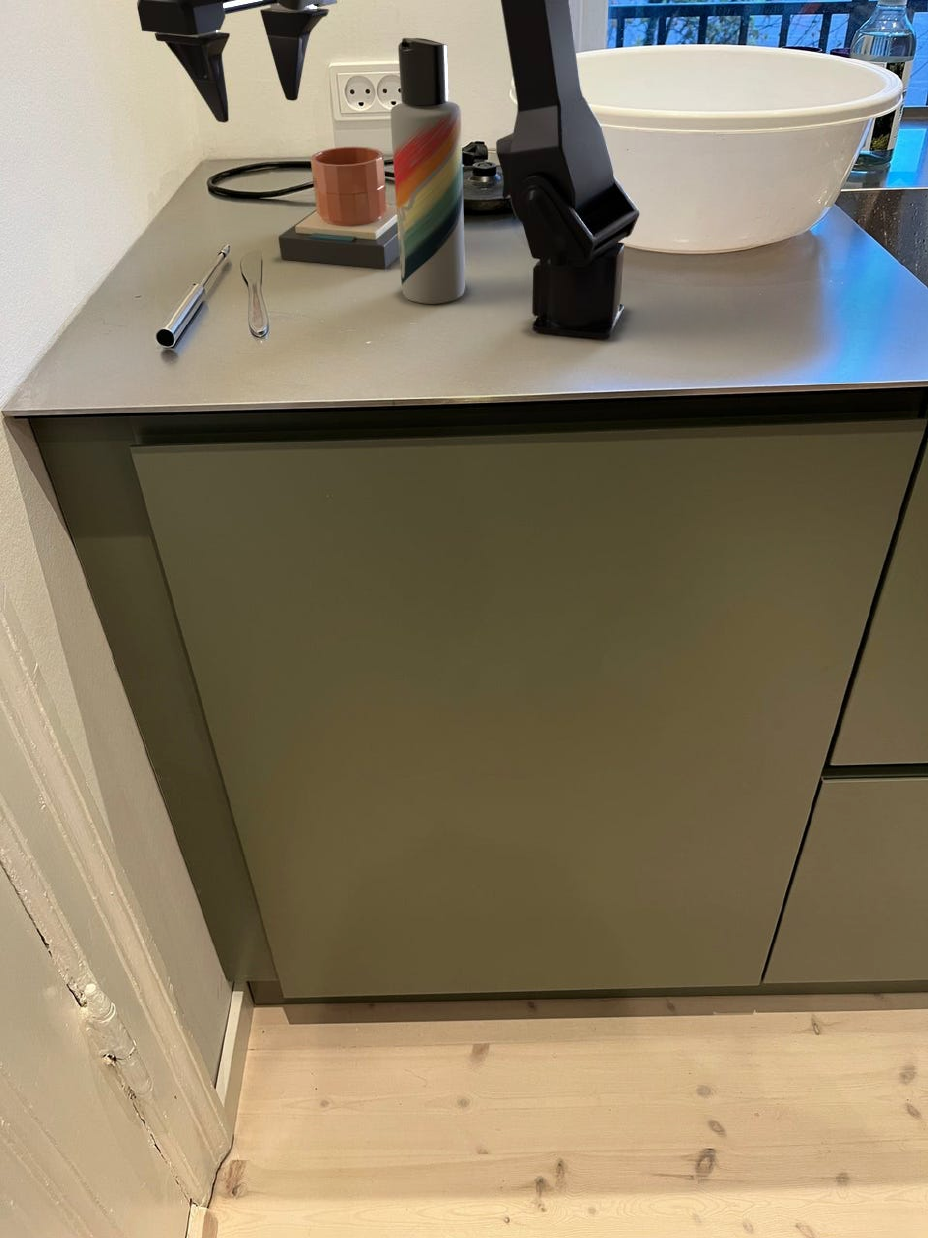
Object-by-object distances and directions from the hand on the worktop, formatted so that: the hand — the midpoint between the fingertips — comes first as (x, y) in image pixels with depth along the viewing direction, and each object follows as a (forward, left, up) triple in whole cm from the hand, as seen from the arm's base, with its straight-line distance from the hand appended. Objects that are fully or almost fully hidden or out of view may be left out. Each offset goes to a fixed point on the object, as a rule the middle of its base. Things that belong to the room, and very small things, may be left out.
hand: (258, 110), depth 87 cm
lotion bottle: (-18, +5, -13) cm, 23 cm away
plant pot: (-6, -5, -10) cm, 13 cm away
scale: (-6, -5, -13) cm, 15 cm away
